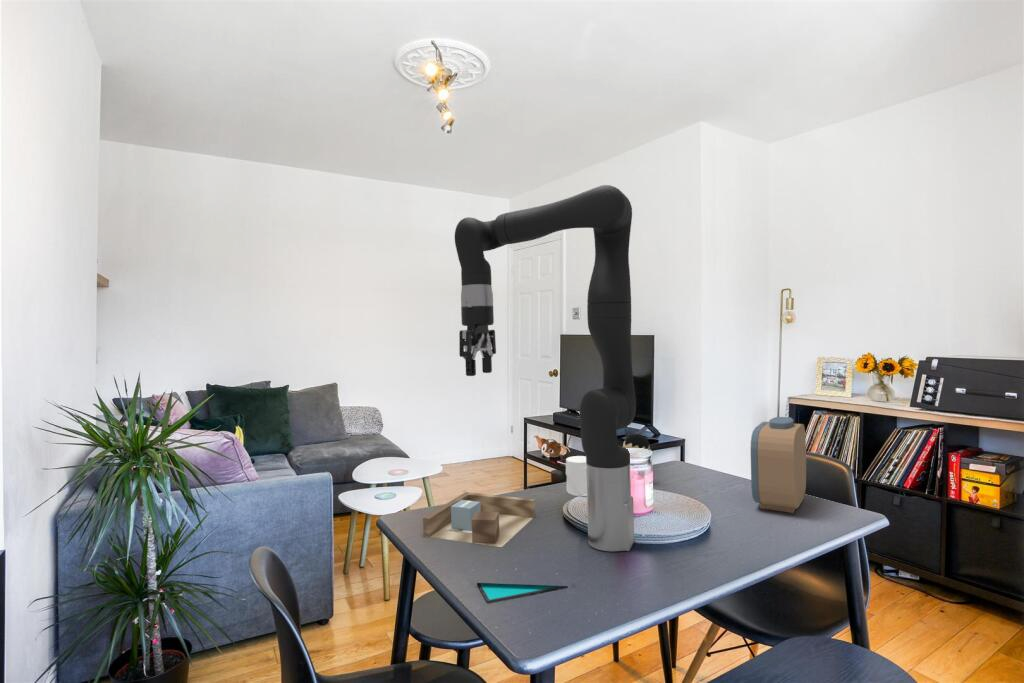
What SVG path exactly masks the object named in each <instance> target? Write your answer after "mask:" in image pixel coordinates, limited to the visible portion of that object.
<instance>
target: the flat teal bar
mask: <svg viewBox="0 0 1024 683" xmlns="http://www.w3.org/2000/svg"><path fill="white" fill-rule="evenodd" d="M476 587H477V588H478V590H479V591H480V593H481V594H482V597H483V599H484V600H485V603H487V604H493V603H498V602H502V601H507V600H513V599H517V598H522V597H527V596H534V595H539V594H544V593H549V592H550V593H551V592H556V591H559V590H564V589H565V590H566V589H567V588H568V587H569V586H568V585H549V584H548V585H546V584H545V585H542V584H520V583H519V584H517V583H494V582H493V583H491V582H476Z"/></svg>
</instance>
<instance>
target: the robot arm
mask: <svg viewBox="0 0 1024 683" xmlns="http://www.w3.org/2000/svg"><path fill="white" fill-rule="evenodd" d="M631 204H632V203H631V201H630V199H629V198H628V197H627V195H625V194H624V193H623V191H621V189H619V188H618V187H615V186H613V185H608V184H603V185H599V186H596V187H593V188H591V189H588V190H586V191H582V192H580V193H578V194H576V195H573V196H570V197H568V198H564V199H561V200H557V201H555V202H550V203H546V204H543V205H539V206H534V207H530V208H529V207H528V208H525V209H520V210H514V211H510V212H509V211H508V212H505V213H501V214H499V215H498V216H496V218H495V219H493V220H488V221H483V220H479V219H477V218H475V217H470V216H469V217H468V216H467V217H465V218H462V219H461V220H460V221H458V223H457V225H456V227H455V229H454V230H455V231H454V243H455V244H454V245H455V250H456V253H457V258H458V261H459V265H460V268H461V269H460V270H461V271H460V272H461V274H460V275H461V276H460V277H461V290H460V311H461V312H460V313H461V315H460V316H461V325H462V326H463V327H466V329H462V330H459V336H458V337H459V338H458V339H459V357H461V358H463V360H464V361H465V376H467V377H474V376H476V375H477V372H476V371H477V368H476V367H477V366H476V357H477V353H478V352H479V351H480V354H481V357H482V358H481V365H482V366H481V369H482V371H481V372H482V373H484V374H490V373H492V371H493V367H492V366H493V365H492V362H493V360H492V358H493V356H494V355H496V354H497V346H496V345H497V344H496V330H495V329H489V326H492V325H494V324H495V323H494V294H493V289H492V288H493V286H492V268H491V264H490V262H489V261H487V259H486V258H485V253H484V252H487V251H492V250H495V249H498V248H501V247H503V246H506V245H513V244H520V243H525V242H530V241H534V240H538V239H540V238H543V237H546V236H548V235H551V234H553V233H556V232H559V231H560V232H561V231H565V230H571V229H585V228H586V229H592V230H593V237H594V250H595V251H594V253H595V254H594V265H593V267H592V268H593V269H592V272H591V273H592V274H591V276H590V281H589V285H588V289H587V290H588V291H587V304H586V305H587V306H586V308H587V316H586V317H587V318H586V319H587V328H588V331H589V334H590V337H591V339H592V341H593V344H594V346H595V348H596V350H597V352H598V354H599V357H600V361H601V365H602V374H603V376H602V379H603V380H602V387H601V388H594V389H591V390H588V391H587V392H586V393H585V394H584V395H583V396H582V398H581V401H580V406H579V422H580V424H579V425H580V426H579V427H580V437H581V438H580V439H581V446H582V447H581V448H582V450H583V452H584V454H585V456H586V473H587V497H586V501H587V502H586V503H587V505H586V506H587V539H588V540H587V541H588V545H589V546H590V547H592V548H594V549H595V550H599V551H603V552H624V551H625V552H630V550H631V548H632V547H633V544H634V542H635V516H634V515H635V514H634V512H635V511H634V510H635V509H634V496H632V492H631V491H632V490H631V487H632V485H631V464H630V453H629V451H628V449H626V448H624V447H623V446H621V445H620V444H619V441H618V432H617V431H619V430H620V429H625V428H627V427H628V426H630V425H631V423H633V421H634V418H635V417H636V412H637V411H636V410H637V399H636V392H635V383H634V382H635V381H634V373H633V363H632V362H633V361H632V360H633V358H632V292H631V291H632V290H631V289H632V288H631V287H632V286H631V272H630V258H629V256H630V255H629V254H630V253H629V252H630V238H631V232H632V230H631V229H632V218H633V208H632V207H633V206H632V205H631Z"/></svg>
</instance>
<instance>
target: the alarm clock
mask: <svg viewBox="0 0 1024 683" xmlns="http://www.w3.org/2000/svg"><path fill="white" fill-rule="evenodd" d="M806 443H807V442H806V429H805V424H804V423H794V419H793V418H792V417H789V416H788V417H787V416H775V417H772V418H770V419H769V420H768V421H762V422H761V423H759V424H758V425H757V426H756V427H754V429H753V430H752V433H751V438H750V480H751V481H750V483H751V484H750V485H751V495H752V499H753V501H754V502H755V503H757V504H759V509H763V510H772V511H778V512H785V513H791V514H794V512H795V511H796V509H798V508H799V507H800V505H801V503H802V501H803V500H804V497H805V494H806V488H807V453H806V452H807V451H806V450H807V447H806V446H807V445H806Z"/></svg>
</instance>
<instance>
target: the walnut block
mask: <svg viewBox="0 0 1024 683" xmlns="http://www.w3.org/2000/svg"><path fill="white" fill-rule="evenodd" d="M498 537H499V512H476V513H475V515H474V517H473V518H472V543H471V544H475V543H489V544H496V542H497V539H498Z"/></svg>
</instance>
